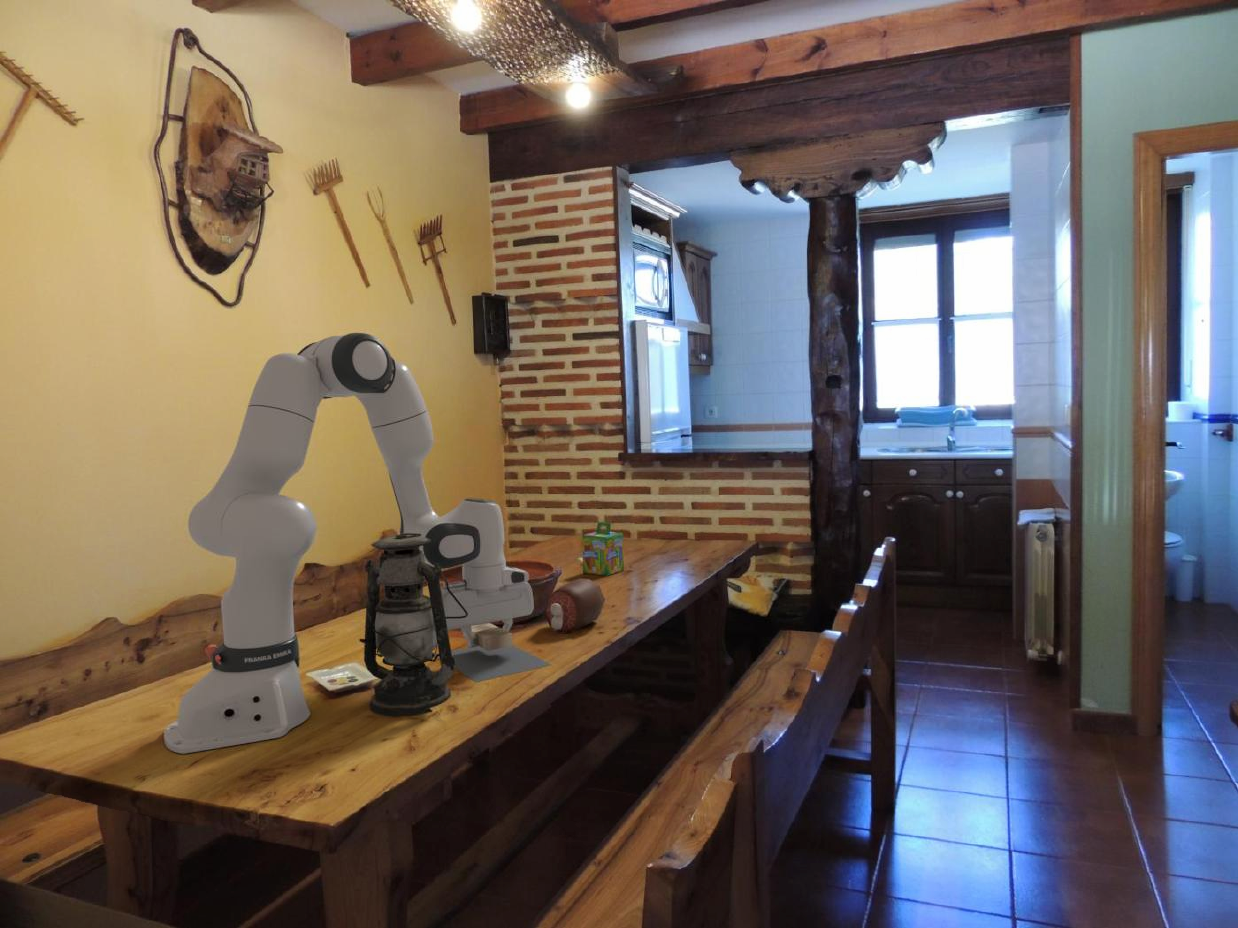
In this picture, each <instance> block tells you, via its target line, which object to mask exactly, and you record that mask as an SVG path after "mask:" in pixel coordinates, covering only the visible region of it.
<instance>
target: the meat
mask: <svg viewBox="0 0 1238 928" xmlns="http://www.w3.org/2000/svg"><path fill="white" fill-rule="evenodd" d="M605 600H606V598H605V596H604V593H603V592H602V588H601V586H600V585H599V584H598V583H596V582H595V581H593V580H592V579H589V578H578V579H574V580H572V581H570V582H567V583H565V584H563V585H561V586H559V587H558V588H557V589H556V590H554V591H552V592H551V594H549V595H548V597H547V600H546V603H545V606H544V610H543V613H544V616H545V618H546V620H547V622H548V623H547V624H548V625H549V627H551V628H552V629H554V630H555V631H556V632H557V633H558V634H570V633H573V632H575V631H577V630H578V629H581V628H584V627H585V626H588V625H590V624H592V623H594V622H595V621H596V620H597V619H598V618H599V616H600V615H601V614H602V611H603V607H604V604H605ZM572 631H573V632H572Z"/></svg>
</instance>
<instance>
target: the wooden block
mask: <svg viewBox="0 0 1238 928" xmlns="http://www.w3.org/2000/svg"><path fill="white" fill-rule="evenodd" d="M471 627H472V631H470V632H469V633H470V634H471V636H472V637H475V638H477V646H480V647H481V648H483V649H485V650H487V651H490V650H494V649H499V648H504V647H508V646H514V640H513V638H514V637H513V633H512V632H510V631H509V632H508V631H505V630H503V629H502V627H499V626H496V625H495V624H492V623H491V622H490V623H485V624H480V625H475V626H471ZM462 634H463V633H462ZM463 639H465V640H466V641H467V638H466V636H465V635H464V634H463Z"/></svg>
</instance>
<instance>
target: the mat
mask: <svg viewBox="0 0 1238 928" xmlns="http://www.w3.org/2000/svg"><path fill="white" fill-rule="evenodd" d="M451 653H452V656H454V660H455V665H454V669H453V670H456V671H457V672H459V673H460V674H462V675H464V676H465V677H467V678H468V679H470V680H471V681H473V682H475V683H479V682H484V681H488V680H493V679H496V678H501V677H506V676H510V675H515V674H519V673H523V672H527V671H531V670H536V669H540V668H545V667H548V666H549V667H550V666H552V664H551V663H549V662H547V661H545V660H543V659H541V658H539V657H538V656H535V655H533V654H531V653H529V652H527V651H525V650H523V649H521V648H519V647H517V646H515V645H513V646H508V647H504V648H499V649H494V650H490V651H487V650H485V649H483V648H481V647H480V646H478V645H477V646H476V647H472V648H470V647H468V646H467V647H464V648H459V649H455V650H451ZM437 654H438V653H436V654H435V656H436V655H437ZM438 659H439V660H440V656H438V657H437V660H438Z"/></svg>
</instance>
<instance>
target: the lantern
mask: <svg viewBox="0 0 1238 928" xmlns="http://www.w3.org/2000/svg"><path fill="white" fill-rule="evenodd" d="M430 541H431V539H429V538H425V537H422V536H421V534H416V533H405V534H401V535H400V534H396V535H395V536H394V535H393V536H388V537H383V538H380V539H379V540H378V539H377V541H374V542H372V543H371V544H370V546H371V547H373V548H374V549H375V548H376V549H379V550H383V553H381V555H380V556H379V560H378V561H376V562H374V563H372V561H371V559H369V560H367V561H366V563H365V564H366V565H365V566H364V567H365V571H366V573H367V581H366V584H367V585H366V604H365V605H366V606H365V608H366V609H365V625H364V629H365V630H364V638H359V639H358V640H359V642H361V643H362V644H363V645H364V647H363V649H364V650H363V662H364V664H365V667H366V670H367V671H368V672H369V673H370V674H371V676H373V677H375V678H377V679H380V681H377V682H376V683H375V685H374V686H373V689H374V690H373V691H374V694H373V695H372V696H371V699H370V701H369V704H368V705H369V706H368V707H369V710H370V711H371V712H373V713H374V714H377V715H380V716H386V717H399V718H400V717H410V716H411V717H412V716H417V715H423V714H426V713H431V712H433V710H432V709H431V708H434V707H438V706H440V705H442V704H443V703H445V702H447V701H448V700H449V699H450V698H451V697H452V693H451V690H450V688H449V687H448V686H447V682H449V681H450V680H451V678H452V677H453V673H454V670H455V669H454V665H455V660H454V656H452V653H451V651H452V649H451V643H450V637H449V631H448V629H447V623H446V619H461V618H465V617H467V615H468V613H467V611H466V610H465V608H464V607H463V606H462V605H461V603H460V602H459V601H458V600H457V598H456V597H455V596H454V594H453V593H452V592H451V591H450V589H449V586H448V583H449V582H448V579H447V578H446V577H445V576H444V574H443V573H442V572H443V571H442V568H440V565H439V563H436V565H435V566H434V567H433V566H431V565H429V564H427V563H425V558H424V553H423V552H422V551H421V550H419V547H420V546H423V545H426V544H427V543H429V542H430ZM440 577H441V578H442V580H443V581H444V584H445V583H446V588H447V590H448V592H449V593H450V594H451V595H452V597H453V598H454V599H455V600H456V602H457V603H458V604H459V605H460V607H461V608H462V609H463V610H464V612H465V614H466V615H465V616H461V617H445V611H444V605H443V599H442V593H441V582H440ZM423 582H427V587H428V594H429V595H426V594H424V587H423V586H424V585H423ZM381 586H384V592H385V598H384V599H381V600H380V591H381V590H380V588H381ZM437 651H438V653H437ZM435 654H437V655H436V656H435ZM438 656H440V659H439V662H440V669H439V670H437V671H432V670H431V667H429V666H426V663H427V662H431V663H432V662H433V663H435V662H437V660H438V658H437V657H438ZM377 657H380V658H382V660H381V661H382V663H383V664H384V665H386V666H392V669H388V668H386V667H384V666H382V665H380V664H379V662H378V661H377Z"/></svg>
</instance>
